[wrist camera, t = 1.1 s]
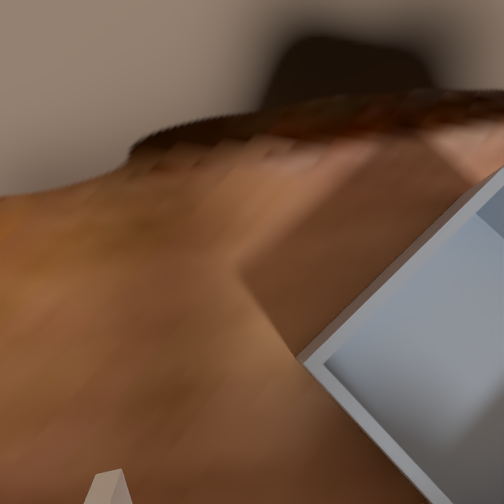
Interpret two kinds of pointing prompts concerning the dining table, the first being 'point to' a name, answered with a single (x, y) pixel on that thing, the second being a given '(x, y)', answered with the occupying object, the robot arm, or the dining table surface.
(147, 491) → the dining table surface
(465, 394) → the bin
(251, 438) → the dining table surface
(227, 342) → the dining table surface
